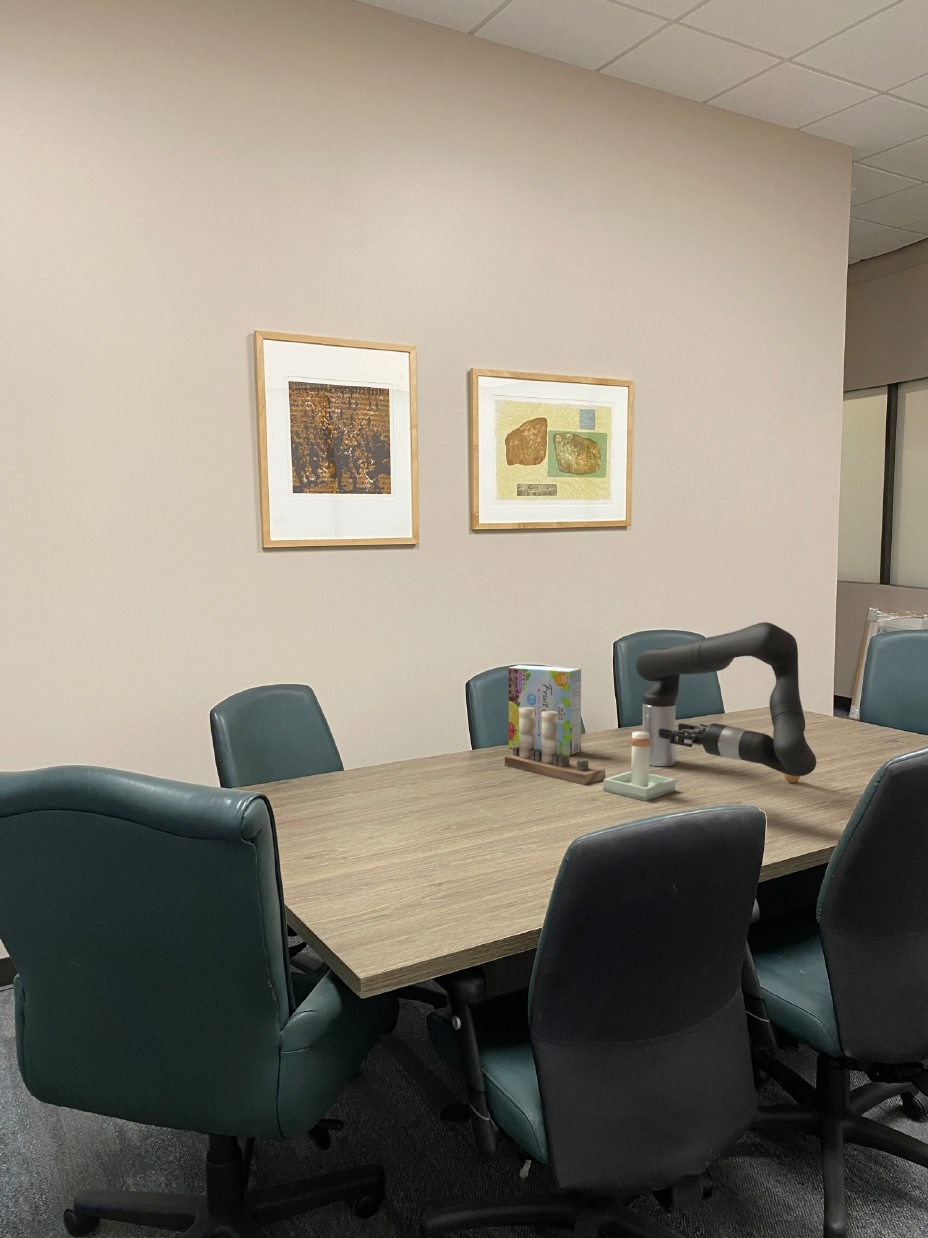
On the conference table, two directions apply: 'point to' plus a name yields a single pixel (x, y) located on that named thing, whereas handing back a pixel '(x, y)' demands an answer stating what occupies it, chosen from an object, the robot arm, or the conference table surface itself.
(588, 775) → the rail
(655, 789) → the tray
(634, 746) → the marked fuse
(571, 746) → the snack box
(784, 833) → the conference table surface
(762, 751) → the robot arm
